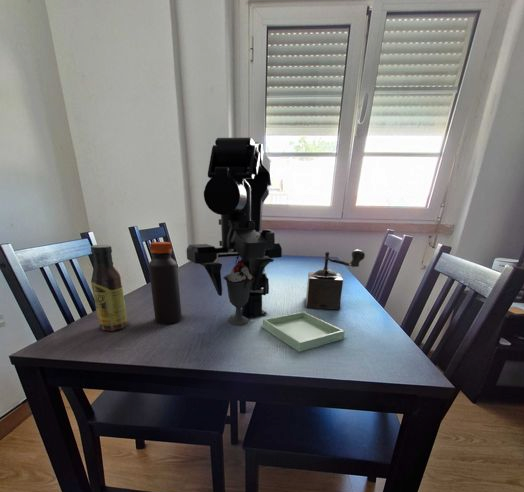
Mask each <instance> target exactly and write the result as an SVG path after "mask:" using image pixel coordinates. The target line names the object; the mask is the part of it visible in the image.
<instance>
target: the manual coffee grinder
mask: <svg viewBox="0 0 524 492" xmlns="http://www.w3.org/2000/svg"><path fill="white" fill-rule="evenodd" d="M324 255H325V256H324V267H323V268H321V269H319V270H317V271H309V272H308V274H307V282H306V284H307V285H306V294H305V307H306V308H307V309H314V310H315V309H317V310H341V300H342V294H343V293H342V291H343V286H344V279H343V277H342V275H341V273H336V272H335V271H333V270H331V269H329V268H328V265H329V262H331V263H336V264H339V265H344V266H347V267H349V268H359V267H360V262H362V261H363V260H364V259H365V257H366V253H365V252H364V251H363V250H361V249H354V250H352V252H351V261H350V262H346V261H342V260H338V259H333V258H331V257H330V252H329V251H326V252H325V253H324Z"/></svg>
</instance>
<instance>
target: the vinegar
mask: <svg viewBox="0 0 524 492" xmlns="http://www.w3.org/2000/svg"><path fill="white" fill-rule="evenodd" d="M149 247H150V253H151V255H152V259H151V260H150V261H149V263H148V272H149V280H150V289H151V296H152V297H151V298H152V306H153V312H154V321H155V322H156V323H158V324H162V325H169V324H175V323H178V322H180V321H182V318H183V316H182V304H181V293H180V283H179V282H180V281H179V271H178V270H179V269H178V263H177V261H176V260H175V259H173V258H172V254H173V245H172V242H169V241H153V242H150V243H149Z"/></svg>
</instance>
